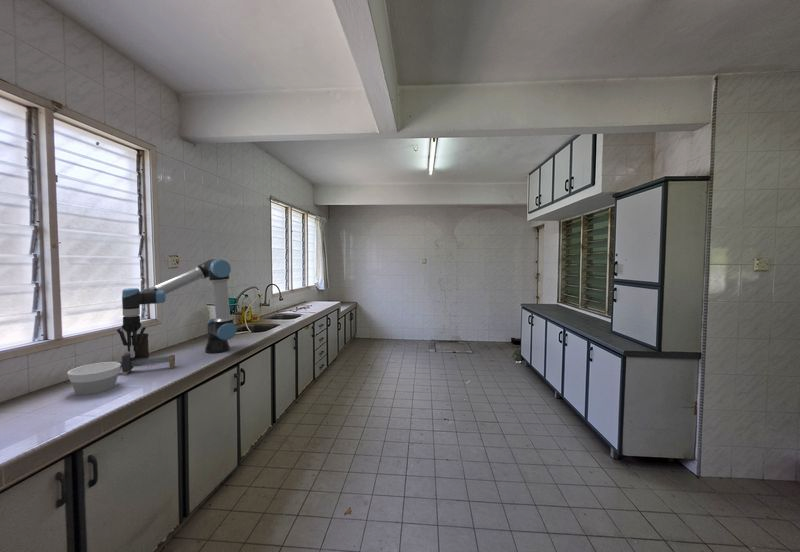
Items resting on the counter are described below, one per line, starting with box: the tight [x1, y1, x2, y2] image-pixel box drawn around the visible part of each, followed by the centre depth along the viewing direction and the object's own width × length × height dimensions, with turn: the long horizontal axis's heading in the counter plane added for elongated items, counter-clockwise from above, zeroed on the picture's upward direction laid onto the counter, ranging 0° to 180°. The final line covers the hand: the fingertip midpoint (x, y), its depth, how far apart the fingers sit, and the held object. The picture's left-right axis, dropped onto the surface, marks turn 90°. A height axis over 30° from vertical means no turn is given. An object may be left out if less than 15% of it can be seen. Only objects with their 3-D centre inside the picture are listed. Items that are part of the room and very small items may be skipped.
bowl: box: [67, 361, 121, 396], centre depth 159 cm, size 19×19×11 cm
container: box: [131, 332, 150, 367], centre depth 198 cm, size 9×9×18 cm
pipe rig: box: [109, 354, 176, 376], centre depth 185 cm, size 30×9×7 cm, turn 117°
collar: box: [121, 352, 134, 373], centre depth 182 cm, size 3×8×9 cm, turn 27°
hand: (132, 356), depth 183 cm, fingers closed
